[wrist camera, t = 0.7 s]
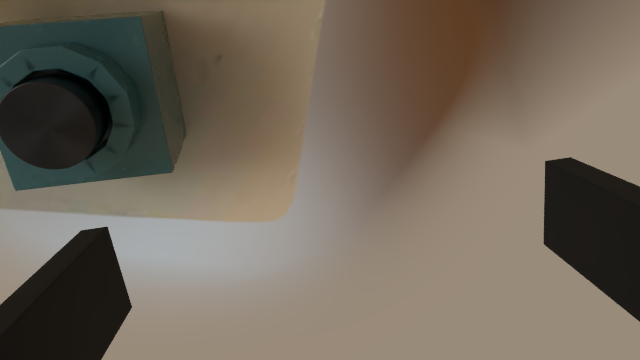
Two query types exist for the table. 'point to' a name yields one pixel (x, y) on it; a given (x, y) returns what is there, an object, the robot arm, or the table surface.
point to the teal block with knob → (101, 91)
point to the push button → (52, 121)
